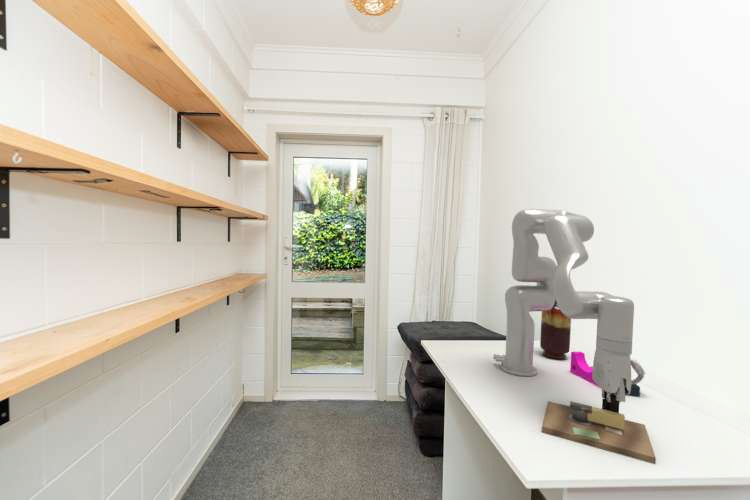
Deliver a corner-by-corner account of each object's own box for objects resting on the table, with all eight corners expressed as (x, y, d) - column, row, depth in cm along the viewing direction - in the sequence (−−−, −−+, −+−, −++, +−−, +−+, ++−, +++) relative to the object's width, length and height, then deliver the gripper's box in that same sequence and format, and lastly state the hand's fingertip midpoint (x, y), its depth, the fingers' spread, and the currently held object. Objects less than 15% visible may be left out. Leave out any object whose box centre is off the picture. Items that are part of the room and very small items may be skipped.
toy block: (619, 388, 115) (620, 366, 114) (602, 389, 114) (603, 366, 113) (585, 371, 129) (586, 351, 129) (570, 371, 128) (571, 351, 128)
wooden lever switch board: (541, 434, 85) (542, 425, 85) (547, 407, 99) (548, 400, 99) (655, 467, 74) (655, 456, 74) (644, 432, 88) (644, 423, 87)
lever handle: (569, 419, 88) (570, 405, 88) (569, 413, 92) (570, 399, 91) (624, 433, 82) (625, 418, 82) (622, 426, 86) (623, 412, 85)
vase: (545, 349, 154) (548, 291, 153) (573, 355, 146) (576, 294, 145) (535, 354, 146) (538, 293, 146) (563, 361, 138) (566, 297, 137)
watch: (646, 397, 108) (648, 363, 107) (617, 394, 109) (619, 360, 109) (637, 390, 113) (639, 357, 113) (609, 387, 115) (611, 354, 114)
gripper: (584, 336, 96) (581, 401, 97) (612, 353, 81) (608, 429, 82) (614, 338, 95) (611, 403, 95) (648, 356, 80) (644, 433, 81)
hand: (610, 415), depth 89 cm, fingers closed
